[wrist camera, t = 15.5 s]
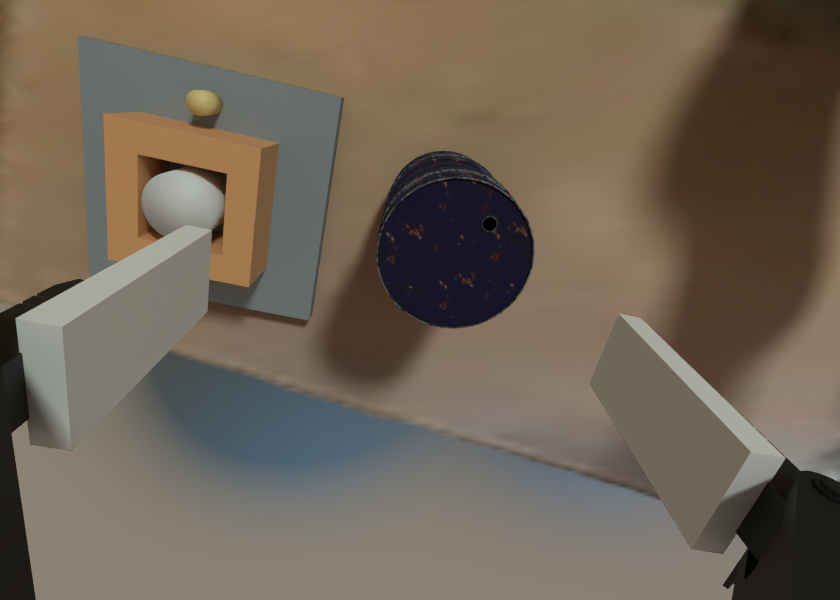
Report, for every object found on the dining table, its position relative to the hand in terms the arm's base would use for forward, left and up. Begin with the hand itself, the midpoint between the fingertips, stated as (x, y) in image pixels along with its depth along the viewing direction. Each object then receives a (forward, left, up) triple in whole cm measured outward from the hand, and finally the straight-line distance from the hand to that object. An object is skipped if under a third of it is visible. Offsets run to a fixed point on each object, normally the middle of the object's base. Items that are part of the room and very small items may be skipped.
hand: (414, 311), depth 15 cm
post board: (+5, -17, -29) cm, 34 cm away
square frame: (+5, -17, -27) cm, 32 cm away
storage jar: (+2, +3, -29) cm, 29 cm away
